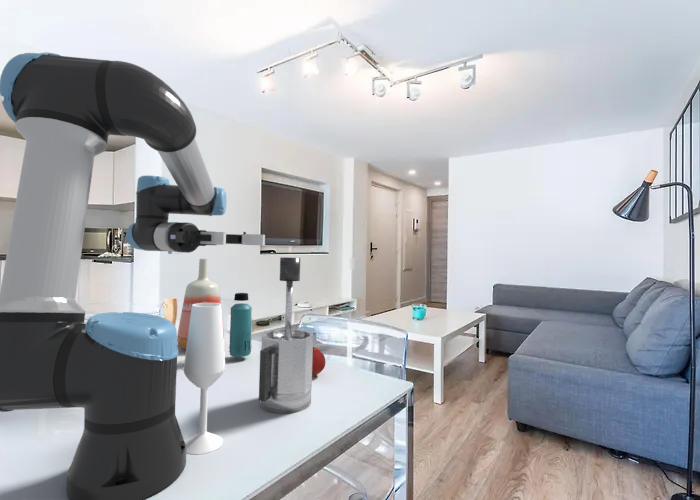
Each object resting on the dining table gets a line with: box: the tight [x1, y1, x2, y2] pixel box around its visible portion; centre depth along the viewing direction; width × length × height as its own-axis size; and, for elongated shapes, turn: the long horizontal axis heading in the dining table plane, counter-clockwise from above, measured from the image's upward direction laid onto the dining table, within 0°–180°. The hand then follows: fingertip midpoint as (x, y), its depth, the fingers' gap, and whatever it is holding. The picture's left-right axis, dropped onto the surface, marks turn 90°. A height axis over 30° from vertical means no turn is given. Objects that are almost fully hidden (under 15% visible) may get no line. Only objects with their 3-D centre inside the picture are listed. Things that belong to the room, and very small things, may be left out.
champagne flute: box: [183, 303, 226, 455], centre depth 64 cm, size 7×7×24 cm
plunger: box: [277, 256, 301, 340], centre depth 82 cm, size 8×8×19 cm
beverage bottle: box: [228, 292, 253, 358], centre depth 112 cm, size 6×7×20 cm
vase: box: [177, 258, 225, 351], centre depth 123 cm, size 14×14×30 cm
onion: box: [312, 345, 326, 377], centre depth 99 cm, size 6×6×8 cm
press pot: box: [258, 328, 314, 414], centre depth 80 cm, size 14×11×15 cm
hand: (245, 239), depth 85 cm, fingers open, 13 cm apart
